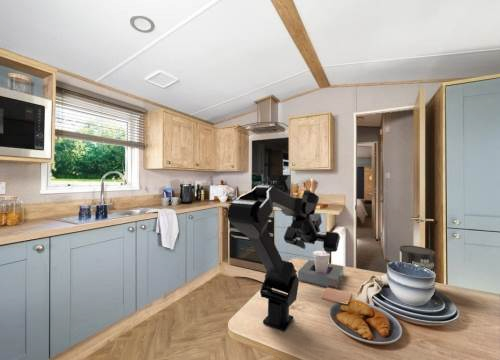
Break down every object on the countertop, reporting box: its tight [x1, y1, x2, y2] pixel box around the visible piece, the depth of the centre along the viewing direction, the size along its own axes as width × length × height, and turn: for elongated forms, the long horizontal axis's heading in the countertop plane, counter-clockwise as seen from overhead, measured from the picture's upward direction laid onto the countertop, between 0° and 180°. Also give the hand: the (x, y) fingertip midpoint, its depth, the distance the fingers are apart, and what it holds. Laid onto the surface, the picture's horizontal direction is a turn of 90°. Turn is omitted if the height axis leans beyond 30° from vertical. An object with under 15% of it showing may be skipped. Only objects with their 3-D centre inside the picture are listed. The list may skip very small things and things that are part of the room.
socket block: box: [297, 259, 344, 290], centre depth 90 cm, size 14×14×4 cm
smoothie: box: [312, 242, 331, 274], centre depth 90 cm, size 6×6×14 cm
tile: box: [320, 287, 353, 304], centre depth 76 cm, size 8×8×1 cm
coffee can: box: [398, 245, 437, 274], centre depth 81 cm, size 10×10×14 cm
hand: (316, 250), depth 86 cm, fingers open, 9 cm apart
